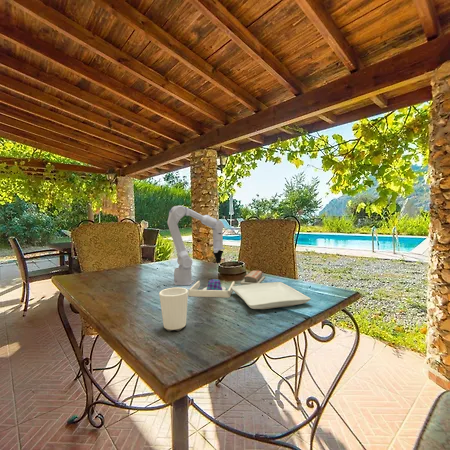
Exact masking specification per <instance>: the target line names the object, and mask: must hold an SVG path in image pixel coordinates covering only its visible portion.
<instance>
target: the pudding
mask: <svg viewBox="0 0 450 450" xmlns="http://www.w3.org/2000/svg"><path fill="white" fill-rule="evenodd" d="M226 289H227V288H226V286H222V285H221V280H220V279H216V278H215V279H214V278H213V279H209V280H208V282H207V286H206V287H204V288H202V290H226ZM226 291H227V290H226Z"/></svg>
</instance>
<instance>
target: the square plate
mask: <svg viewBox="0 0 450 450" xmlns="http://www.w3.org/2000/svg"><path fill="white" fill-rule="evenodd" d="M231 288H232V289H233V292H234V293H235V294H236V295H237V296H239V298H241V299H242V300H243V301H244V303H246V305H247V306H248V307H249V308H250V309H253V310H267V309H275V308H285V307H293V306H296V305H302V304H306V303H309V302H310V301H311V300H312V298H311V297H309V296H307V295H306V294H303V293H302V292H300V291H298V290H296V289H295V288H293V287H292V286H289V285H287V284H285V283H283V282H282V281H276V282H275V281H274V282H260V283H258V284H249V285H245V284H240V285H235V286H232V287H231Z"/></svg>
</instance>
